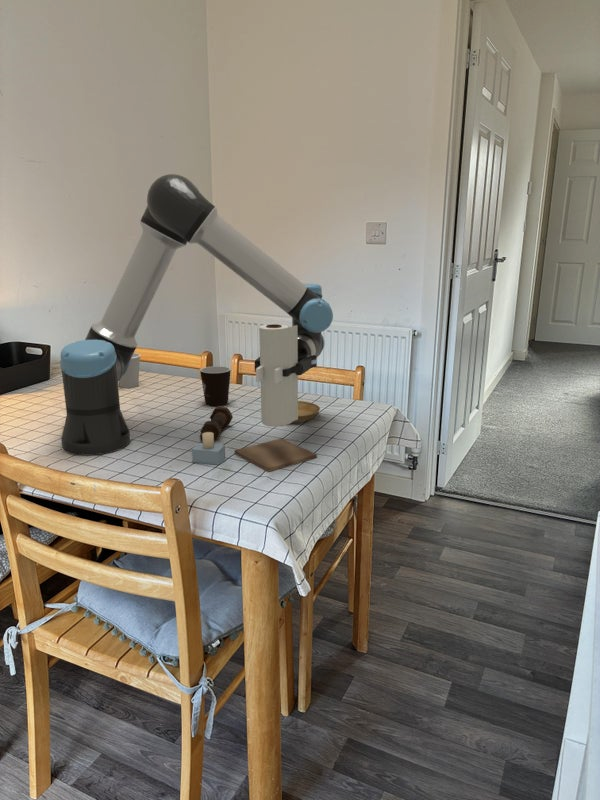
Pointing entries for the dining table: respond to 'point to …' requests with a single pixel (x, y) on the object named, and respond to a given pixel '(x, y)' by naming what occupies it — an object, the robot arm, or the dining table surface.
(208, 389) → the coffee mug
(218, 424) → the dark brown knobby rod
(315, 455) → the board
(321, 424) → the dining table surface
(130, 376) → the dixie cup
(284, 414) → the paper towel roll
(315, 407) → the plant saucer
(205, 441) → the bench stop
